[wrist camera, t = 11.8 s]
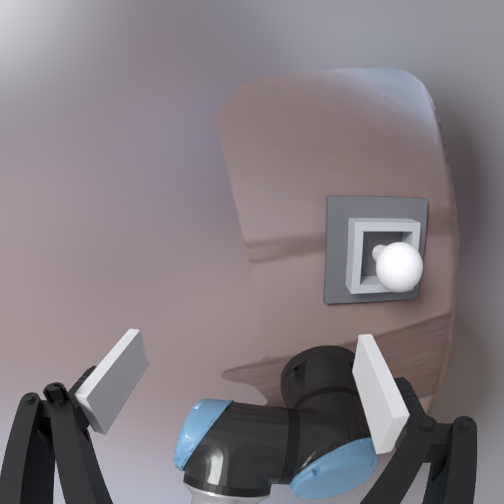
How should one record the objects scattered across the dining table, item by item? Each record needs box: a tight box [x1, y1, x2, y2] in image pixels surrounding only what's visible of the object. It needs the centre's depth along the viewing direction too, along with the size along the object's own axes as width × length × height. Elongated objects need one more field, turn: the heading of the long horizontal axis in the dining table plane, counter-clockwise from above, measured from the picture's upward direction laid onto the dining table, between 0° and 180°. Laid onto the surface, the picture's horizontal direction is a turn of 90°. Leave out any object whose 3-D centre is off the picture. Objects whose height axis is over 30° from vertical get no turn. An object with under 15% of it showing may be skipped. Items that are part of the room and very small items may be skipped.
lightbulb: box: [372, 242, 423, 292], centre depth 34 cm, size 6×6×11 cm
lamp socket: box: [323, 195, 428, 304], centre depth 38 cm, size 16×16×5 cm
